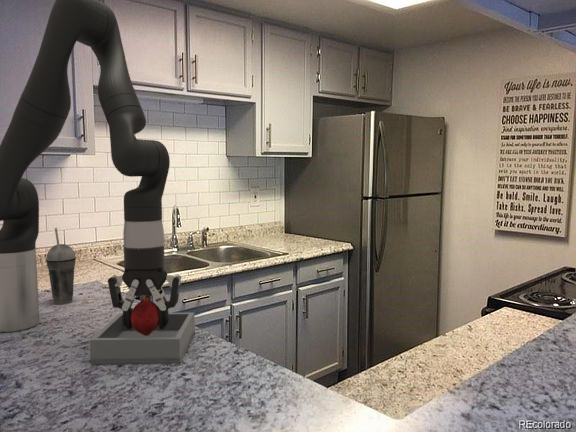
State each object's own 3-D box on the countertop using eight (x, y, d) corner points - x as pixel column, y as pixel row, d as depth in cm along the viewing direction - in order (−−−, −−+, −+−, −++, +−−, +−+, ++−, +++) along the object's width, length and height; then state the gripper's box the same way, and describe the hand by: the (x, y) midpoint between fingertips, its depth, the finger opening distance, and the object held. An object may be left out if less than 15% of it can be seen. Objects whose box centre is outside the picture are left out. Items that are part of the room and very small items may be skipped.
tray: (90, 364, 84) (89, 340, 84) (119, 333, 100) (119, 313, 100) (180, 363, 85) (179, 339, 84) (194, 332, 101) (194, 312, 100)
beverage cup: (84, 300, 126) (81, 226, 124) (61, 307, 120) (57, 229, 118) (64, 297, 129) (61, 225, 127) (41, 304, 123) (37, 228, 121)
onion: (152, 341, 89) (151, 300, 88) (125, 339, 90) (123, 299, 89) (166, 331, 95) (165, 292, 94) (140, 329, 96) (139, 291, 95)
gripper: (99, 246, 87) (102, 335, 88) (177, 246, 87) (179, 334, 89) (113, 240, 94) (115, 322, 96) (185, 240, 95) (186, 321, 96)
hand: (146, 327), depth 92 cm, fingers closed on onion, 5 cm apart
